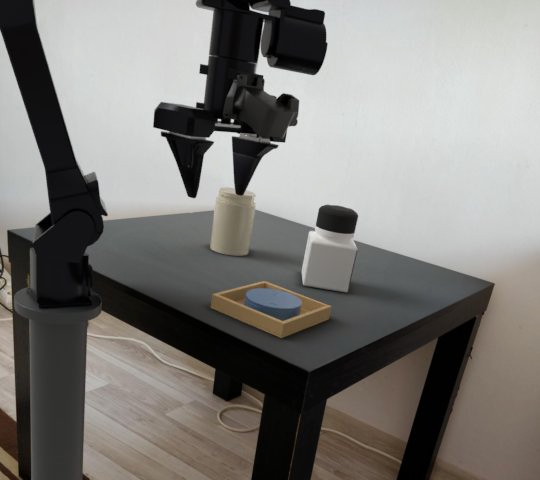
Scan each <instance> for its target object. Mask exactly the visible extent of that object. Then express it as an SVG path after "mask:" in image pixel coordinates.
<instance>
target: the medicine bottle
mask: <svg viewBox="0 0 540 480" xmlns="http://www.w3.org/2000/svg"><path fill="white" fill-rule="evenodd" d="M317 211H318V212H317V217H316V221H315V227H314V230H309V231H308V236H307V239H306V246H305V250H304V257H303V261H302V267H301V281H302V285H303V286H304V287H307V288H308V287H309V288H314V289H322V290H328V291H334V292H339V293H348V292H349V291H350V290H349V289H350V285H351V280H352V276H353V272H354V268H355V264H356V259H357V255H358V251H359V250H358V249H359V248H358V247H357V245H356V242H355V241H354V239H353V238H355V237H354V236H355V233H356V228H357V225H358V220H359V214H358V212H356V210H354V209H352V208H350V207H347V206H343V205H339V204H324V205H321V206H320V207H319V208H318V210H317Z"/></svg>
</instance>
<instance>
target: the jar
mask: <svg viewBox="0 0 540 480" xmlns="http://www.w3.org/2000/svg"><path fill="white" fill-rule="evenodd" d="M255 198H256V193H254V192H253V191H251V190H247V189H246V191H245V193H244V195H242V196H240V195H237V194H236V193H235V187H229V186H228V187H227V186H225V187H219V190H218V196H217V197H215V203H214V210H213V219H212V227H211V235H210V244H209V249H211V250H212V251H213V252H216V253H218V254H222V255H226V256H233V257H242V256H243V257H244V256H247V255H249V254H250V247H251V240H252V233H253V227H254V221H255V214H256V205H257V204H256V203H255Z"/></svg>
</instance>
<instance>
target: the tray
mask: <svg viewBox="0 0 540 480" xmlns="http://www.w3.org/2000/svg"><path fill="white" fill-rule="evenodd" d="M258 288H267V289H275V290H280V291H284V292H287V293H290V294H292V295H294V296H296V297H298V298H299V299H300V300H301V301H302V305H301V310H300V315H298V316H296V317H293V318H290V319H287V320H285V321H281V320H279V319H276V318H274V317H271V316H269V315H266V314H264V313H262V312H259V311H257V310H254V309H252V308H249V307H247V306H245V305H244V303H245V297H246V292H247V291H249V290H252V289H258ZM210 309H212V310H214V311H217V312H219V313H221V314H223V315H226V316H228V317H231V318H233V319H235V320H237V321H240V322H242V323H244V324H247V325H249V326H252V327H254V328H255V329H259V330H261V331H264V332H266V333H268V334H270V335H272V336H275V337H278V338H279V339H283V338H286V337H288V336H291V335H294V334H296V333H299V332H300V331H303V330H305V329H308V328H310V327H313V326H316V325H318V324H322V323H323V322H326V321H328V320H330V315H331V311H332V305H329V304H326V303H325V302H321V301H318V300H316V299H313V298H311V297H307V296H305V295H303V294H300V293H297V292H295V291H293V290H289V289H287V288H284V287H282V286H280V285H277V284H274V283H271V282H269V281H266V280H263V281H259V282H255V283H251V284H247V285H243V286H238V287H234V288H232V289H227V290H223V291H218V292H215V293H212V295H211V303H210Z"/></svg>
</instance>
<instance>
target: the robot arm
mask: <svg viewBox="0 0 540 480" xmlns="http://www.w3.org/2000/svg"><path fill="white" fill-rule="evenodd" d="M195 7H196V8H198V9H203V10H207V11H211V12H212V22H211V32H210V39H209V40H210V41H209V50H208V58H207V59H208V60H207V64H203V63H200V64H199V72H198V74H200V75H204V76H205V75H206V77H205V78H206V80H205V89H204V96H203V102H198V101H196V103H195V106H191V105H186V104H180V103H173V102H164V101H160V102H159V103H158V105H157V106H156V107H155V108H154V110H153V111H154V112H153V123H152V124H153V125H152V128H154V129H159V130H161V131H160V137H162V138H165V139H166V142H167V144H168V147H169V148H170V151H171V153H172V155H173V158H174V160H175V162H176V165H177V168H178V172H179V174H180V177H181V181H182V184H183V187H184V189H185V193H186V195H187V197H188V198H191V199H196V198H197V195H198V192H199V187H200V181H201V176H202V168H203V164H204V157H205V154H206V153H207V152H208V150H210V148H211V147H212V146H213V145H214V144H215V141H213V140H209V138H211V136H212V135H213V133H214V132H221V133H236V134H239V136H235V135H232V136H231V147H232V149H231V151H232V168H233V185H234V188H235V193H236V194H237V195H240V196H242V195H244V193H245V191H246V190H247V188H248V186H249V184H250V182H251V180H252V178H253V176H254V174H255V172H256V170H257V169H258V166H259V164H260V162H261V161H262V159H263V157H264V156H265V155H267V154H268V153H270V152H271V151H273V150H276V149H278V148H279V146H280V145H279V144H276V143H284V144H285V143H286V139H287V134H288V129H289V127H296V126H297V125H298V117H299V109H300V99H298V98H297V97H295V96H294V95H293V94H289V93H285V92H284V93H281V94H280V95H279V96H276V95H273V94H269V93H268V92H267V91H265V82H266V81H265V78H264V75H263V74H258V73H257V72H258V63H259V57H260V53H261V56H262V57H263V58H266V60H267V61H266V62H267V65H268V66H269V68H273V69H278V70H285V71H289V72H294V73H298V74H304V75H309V76H316V75H317V74H318V73H319V72H320V70H321V68H322V66H323V65H324V61H325V59H326V54H327V50H328V43H329V42H327V28H326V25H325V17H326V12H325V10H322V9H321V10H320V9H317V8H309V9H308V8H304V7H300V6H295V5H292V3H291V0H196V1H195ZM36 11H37V10H36V4H35V0H0V33H1V36H2V40H3V43H4V46H5V49H6V52H7V55H8V58H9V62H10V64H11V65H10V66H11V68H12V71H13V75H14V77H15V80H16V83H17V86H18V89H19V93H20V96H21V100H22V101H23V105H24V108H25V111H26V115H27V117H28V120H29V123H30V127H31V130H32V133H33V136H34V139H35V143H36V146H37V149H38V151H39V155H40V158H41V161H42V164H43V168H44V173H45V181H46V189H47V190H46V191H47V198H48V206H49V213H47V214H46V215H45V216H44V217H43V218H42V219H40V220H39V221H38V222H37V223H35V225H34V231H33V238H32V247H29V284H30V285H29V286H27V287H28V288H27V287H26V288H27V293H28V294H29V296H30V297H31V298H32V300H33V301H34V303H35V304H36V305H37V307H38V308H40V309H47V308H64V307H80V306H91V305H92V301H91V300H90V299H89V298H88V297H90V296H91V295H92V291H93V266H92V264H90V263H89V261H90V260H89V257H90V254H89V253H87V252H86V251H87V248H88V247H89V246H92V245H94V244H95V243H96V242H98V241H99V240H100V238H101V236H102V235H103V233H104V227H105V226H104V224H105V223H104V218H103V217H108V215H109V213H108V211H107V207H106V203H105V201H104V200H103V199H102V197H101V193H100V185H99V180H98V177H97V173H96V171H92V172H90V173H87V174H85V173H84V172H83V169H82V167H81V165H80V164H79V161H78V159H77V157H76V154H75V151H74V147H73V144H72V140H71V137H70V134H69V129H68V126H67V123H66V119H65V117H64V112H63V109H62V106H61V103H60V102H61V101H60V99H59V95H58V92H57V89H56V85H55V82H54V79H53V75H52V72H51V68H50V66H49V65H50V64H49V61H48V59H47V55H46V51H45V48H44V45H43V41H42V37H41V34H40V31H39V27H38V20H37V13H36ZM267 13H268V14H267ZM232 120H233V121H232ZM207 138H208V139H207ZM272 142H273V143H272Z"/></svg>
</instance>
